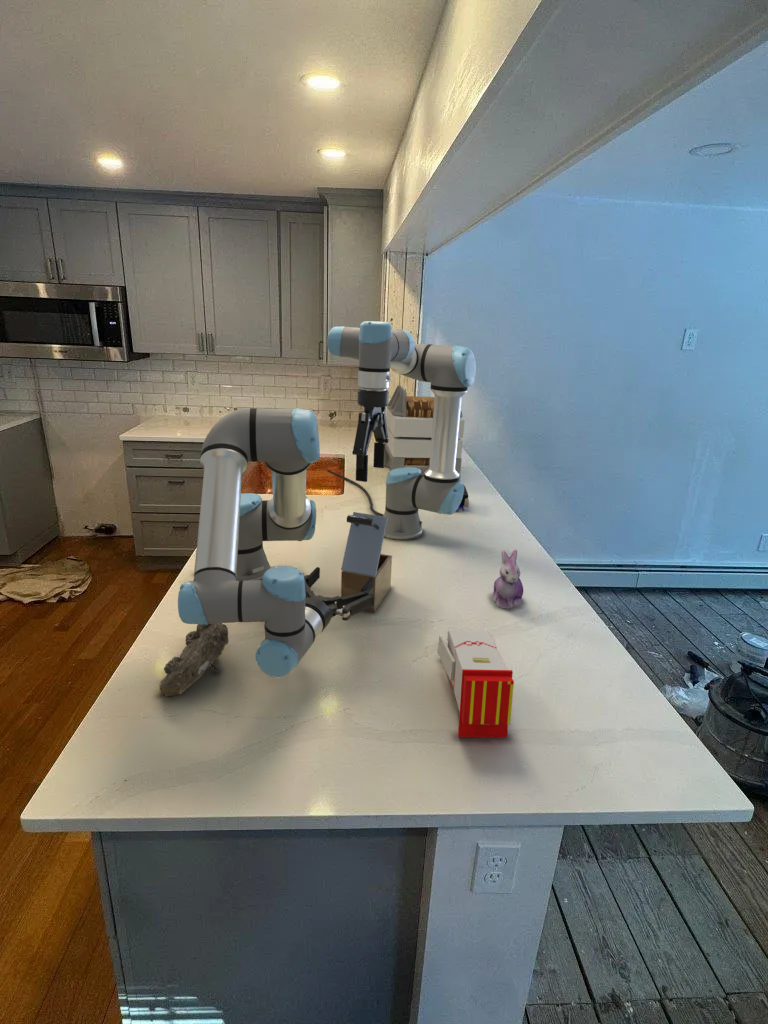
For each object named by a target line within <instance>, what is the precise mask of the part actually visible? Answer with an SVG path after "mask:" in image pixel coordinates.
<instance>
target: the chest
mask: <svg viewBox="0 0 768 1024" xmlns="http://www.w3.org/2000/svg"><path fill="white" fill-rule="evenodd" d="M392 563H393V555H391V554H390V555H389V554H383V553H381V554H380V559H379V563H378V568H377V573H376V576H371V575H365V574H360V573H354V572H349V571H343V570H341V577H340V580H341V581H340V588H341V589H340V597H343V596H347V595H351V594H355V593H359V592H361V589H362V587H363V586H364V585H365V583H366V582H367V581H368V579H369V578H370V577H373V594H375V605H374V606H372V607H370V608H367V609H365V610H363V611H365V612H370V613H375V612H376V610H377V609H378V607H379V606H380V604H381V603H382V601H383V599H385V597H386V595H387V594H388V593H389V591H390V589H391V588H392V587H391V586H392V583H391V582H392V566H393V564H392Z"/></svg>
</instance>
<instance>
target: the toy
mask: <svg viewBox="0 0 768 1024" xmlns="http://www.w3.org/2000/svg"><path fill="white" fill-rule="evenodd" d="M446 640H447V643H446V641H445V639H444V636H443V635H442V634H439V637H438V646H437V656H438V657H439V659H440V661H441V663H442V666H443V668H444V670H445V672H446V674H447V677H448V679H449V681H450V684H451V687H452V690H453V693H454V697H455V701H456V705H457V708H458V711H459V714H458V715H459V716H458V730H457V731H458V732H457V737H458V738H508V731H509V726H510V725H511V717H512V707H513V697H514V696H513V695H514V684H515V680H514V679H513V673H514V671H513V670H512V669H508V667H507V665H506V662H505V661H504V659H503V658H502V655H501V653H500V651H499V649H498V647H497V643H496V639H495V637H494V635H493V634H491V632H490V631H489V629H467V628H466V629H465V628H463V629H461V628H460V629H459V628H448V630H447V639H446Z"/></svg>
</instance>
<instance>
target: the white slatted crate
mask: <svg viewBox="0 0 768 1024" xmlns="http://www.w3.org/2000/svg"><path fill="white" fill-rule="evenodd" d="M407 394H408V393H407V390H406V389H404V388H403V387H402V385H399V384H398V385H397V386H396V388H395V390H394V392H393V394H392V395H391V398H390V400H389V402H388V405H387V406H386V423H387V432H388V438H387V439H389V441H388V443H385V455H384V467H388V468H389V472H390V471H391V470H393V469H397V468H405V466H406V467H410V466H411V467H417V466H418V467H429V464H430V451H431V438H432V425H433V412H434V399H435V396H415V395H414V396H413V395H412V396H411V395H407ZM464 429H465V419H464V418H463V411H461V412H460V423H459V433H458V444H457V455H456V466H455V470H456V471H457V472H458V474H459V481H461V472H462V461H463V460H462V453H463V442H464V441H463V440H462V439H463V438H464V431H465V430H464Z"/></svg>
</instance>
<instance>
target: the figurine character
mask: <svg viewBox="0 0 768 1024" xmlns="http://www.w3.org/2000/svg"><path fill="white" fill-rule="evenodd" d="M469 505H470V500H469V492H468V490H467V488H466V485H464V494H463V498H462V501H461V503H460V505H459V507H458V509H461V511H462V512H464V511H465V508H469ZM458 509H457V510H456V511H455V512H457V511H458Z"/></svg>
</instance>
